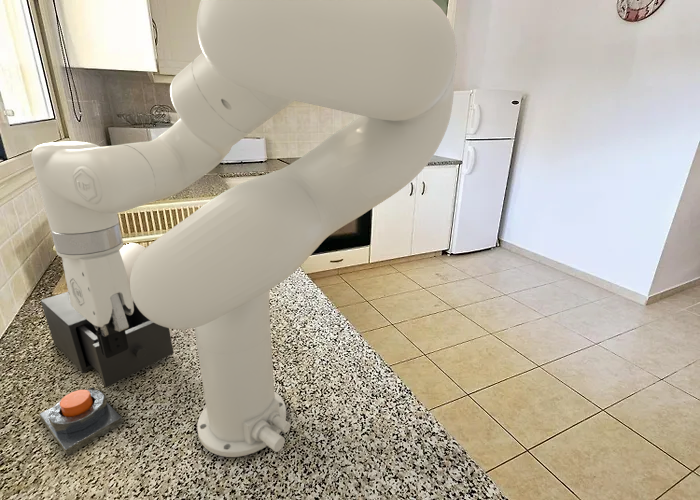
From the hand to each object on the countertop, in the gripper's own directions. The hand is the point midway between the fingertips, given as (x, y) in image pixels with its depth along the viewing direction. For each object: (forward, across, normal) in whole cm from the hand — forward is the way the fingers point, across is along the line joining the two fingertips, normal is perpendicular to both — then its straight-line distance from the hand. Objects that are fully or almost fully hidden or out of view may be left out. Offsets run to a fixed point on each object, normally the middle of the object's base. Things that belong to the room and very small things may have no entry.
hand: (115, 351), depth 57 cm
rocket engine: (+9, -37, +14) cm, 41 cm away
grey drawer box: (+9, -18, +4) cm, 20 cm away
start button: (+6, 0, -6) cm, 9 cm away
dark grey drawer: (+8, -9, +4) cm, 12 cm away
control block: (+8, 0, -6) cm, 11 cm away
